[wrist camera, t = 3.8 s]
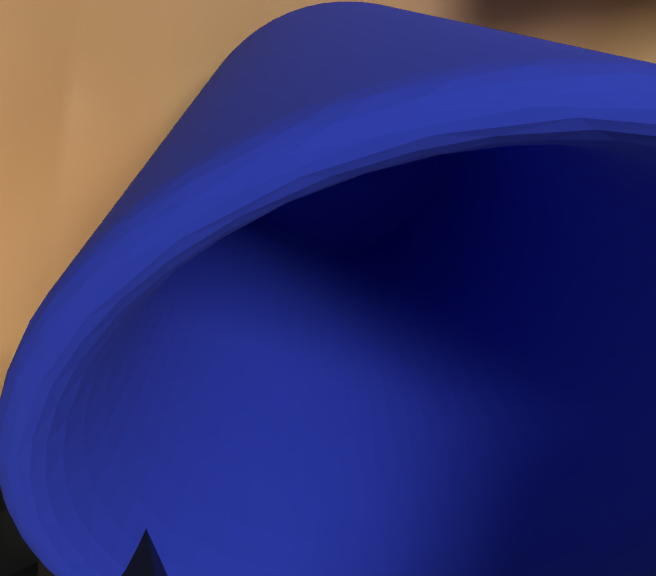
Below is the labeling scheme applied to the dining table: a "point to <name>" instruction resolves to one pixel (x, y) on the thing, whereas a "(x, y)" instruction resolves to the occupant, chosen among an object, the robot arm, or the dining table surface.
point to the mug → (360, 320)
